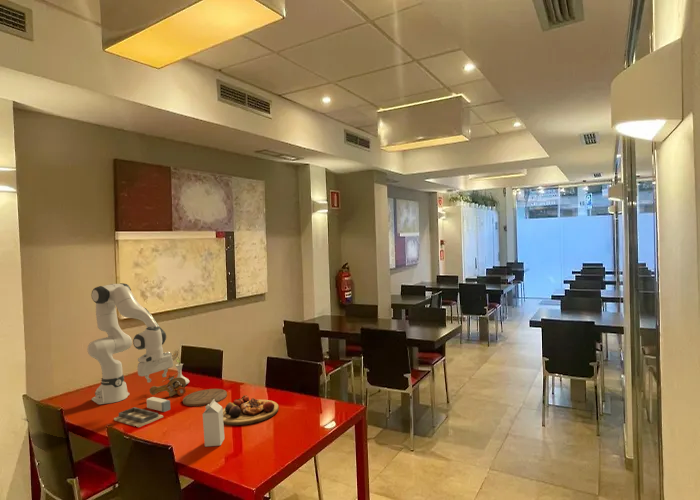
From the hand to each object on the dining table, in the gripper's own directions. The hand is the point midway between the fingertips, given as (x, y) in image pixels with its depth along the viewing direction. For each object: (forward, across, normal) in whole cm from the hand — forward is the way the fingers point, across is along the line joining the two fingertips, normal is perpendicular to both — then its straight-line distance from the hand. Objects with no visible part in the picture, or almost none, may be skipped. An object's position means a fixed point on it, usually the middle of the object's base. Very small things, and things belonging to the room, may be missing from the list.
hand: (157, 379), depth 244 cm
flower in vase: (+16, -32, -24) cm, 44 cm away
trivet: (+17, -22, +12) cm, 31 cm away
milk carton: (+18, +16, +65) cm, 70 cm away
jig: (+17, +14, +2) cm, 22 cm away
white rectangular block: (+17, 0, 0) cm, 17 cm away
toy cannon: (+17, -16, -13) cm, 26 cm away
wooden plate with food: (+18, -16, +54) cm, 60 cm away
